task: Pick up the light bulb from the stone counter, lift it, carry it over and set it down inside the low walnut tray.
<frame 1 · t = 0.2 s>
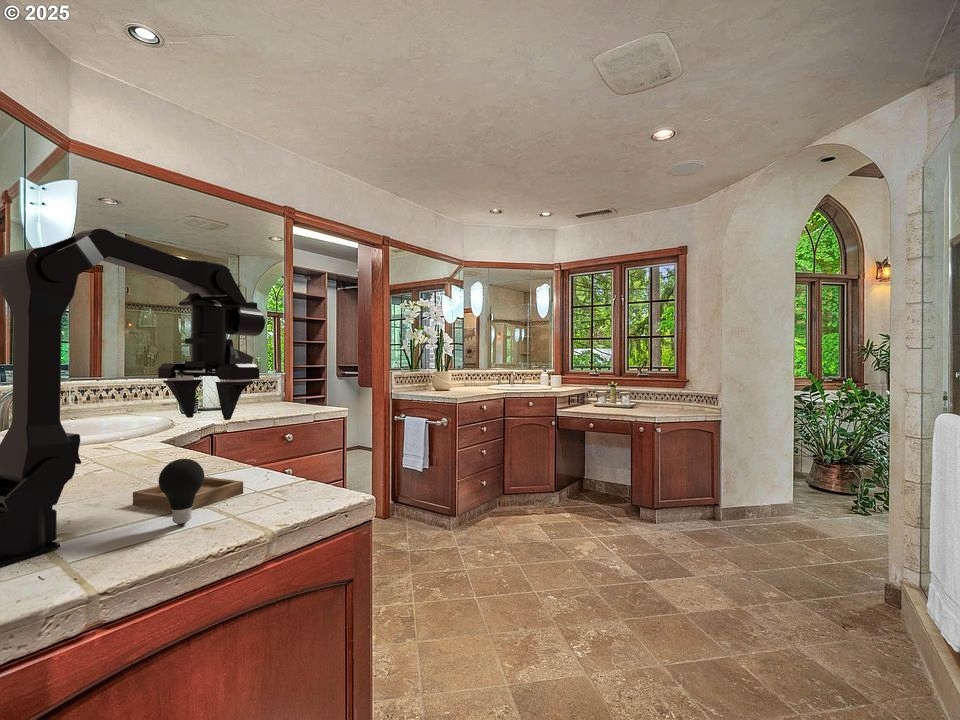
hand: (208, 418, 85), 14 cm above the counter, fingers open, 9 cm apart
walnut tray: (190, 498, 84), on the counter
light bulb: (181, 526, 71), on the counter
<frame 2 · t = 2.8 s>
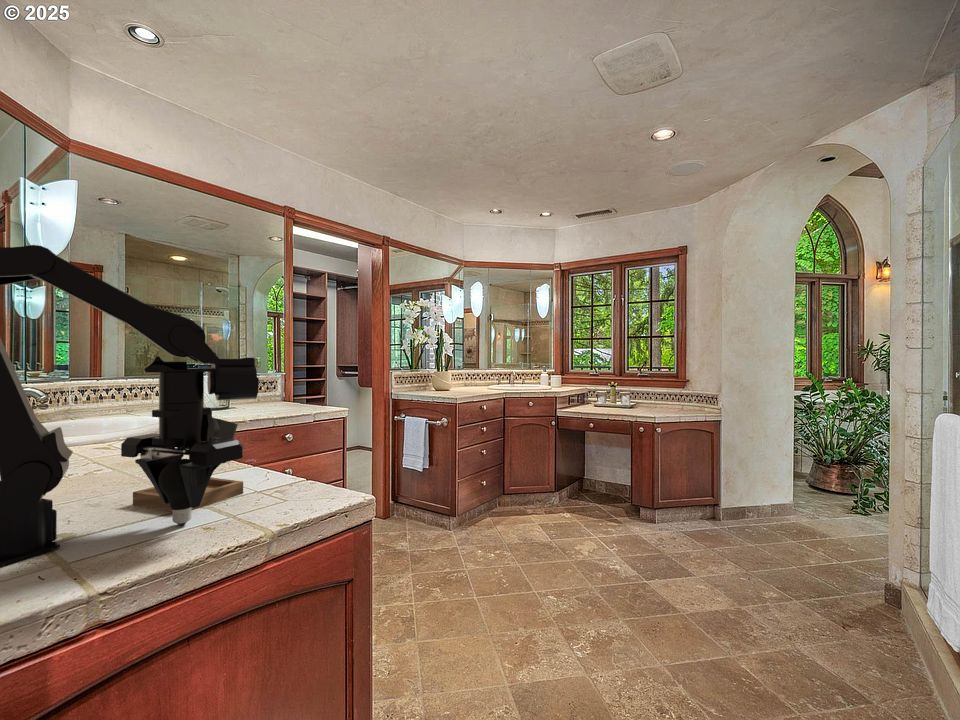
hand: (181, 505, 71), 3 cm above the counter, fingers closed on light bulb, 5 cm apart
light bulb: (181, 526, 71), on the counter, touching gripper
when the fingers open (5 cm above the counter, at t = 6.6 s): light bulb drops 1 cm, resting on walnut tray.
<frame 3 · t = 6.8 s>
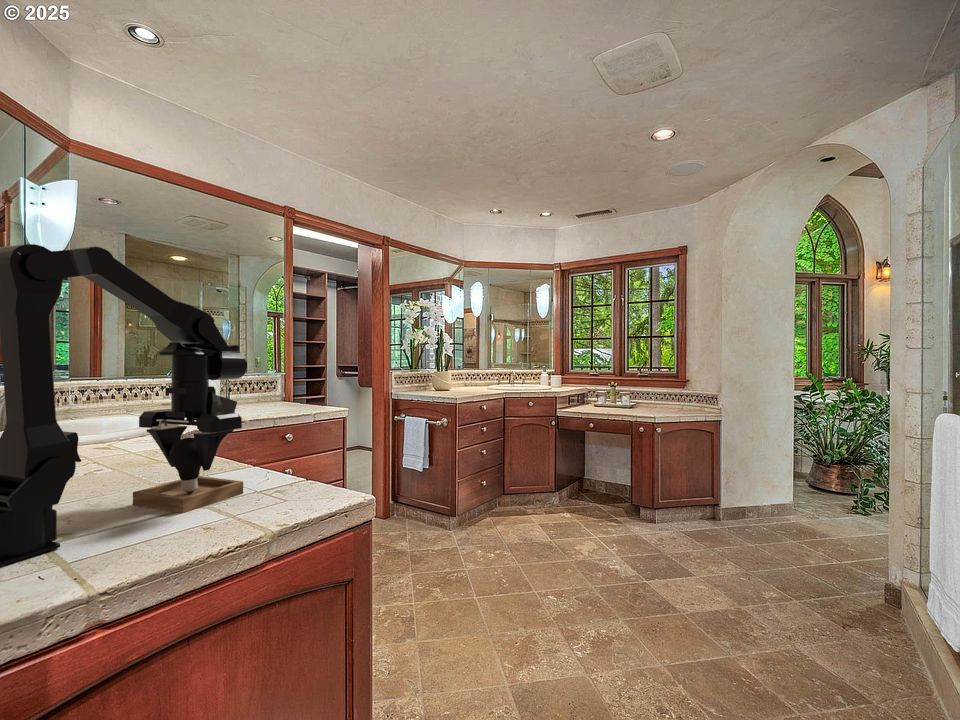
hand: (190, 468, 84), 5 cm above the counter, fingers open, 8 cm apart
light bulb: (189, 494, 84), point 1 cm above the counter, touching walnut tray
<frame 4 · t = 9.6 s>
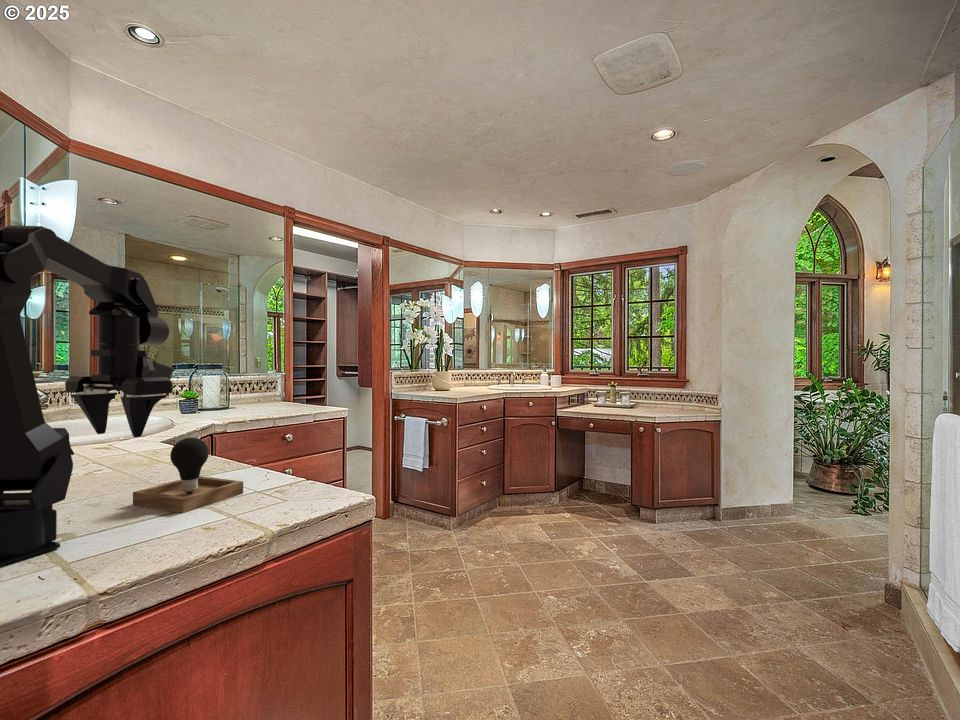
hand: (118, 435, 80), 12 cm above the counter, fingers open, 9 cm apart
nothing on the counter moved.
at the end: light bulb inside the target area on the walnut tray (0.1 cm from its centre), point 0.8 cm above the walnut tray's base; light bulb touching walnut tray; the gripper is holding nothing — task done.
